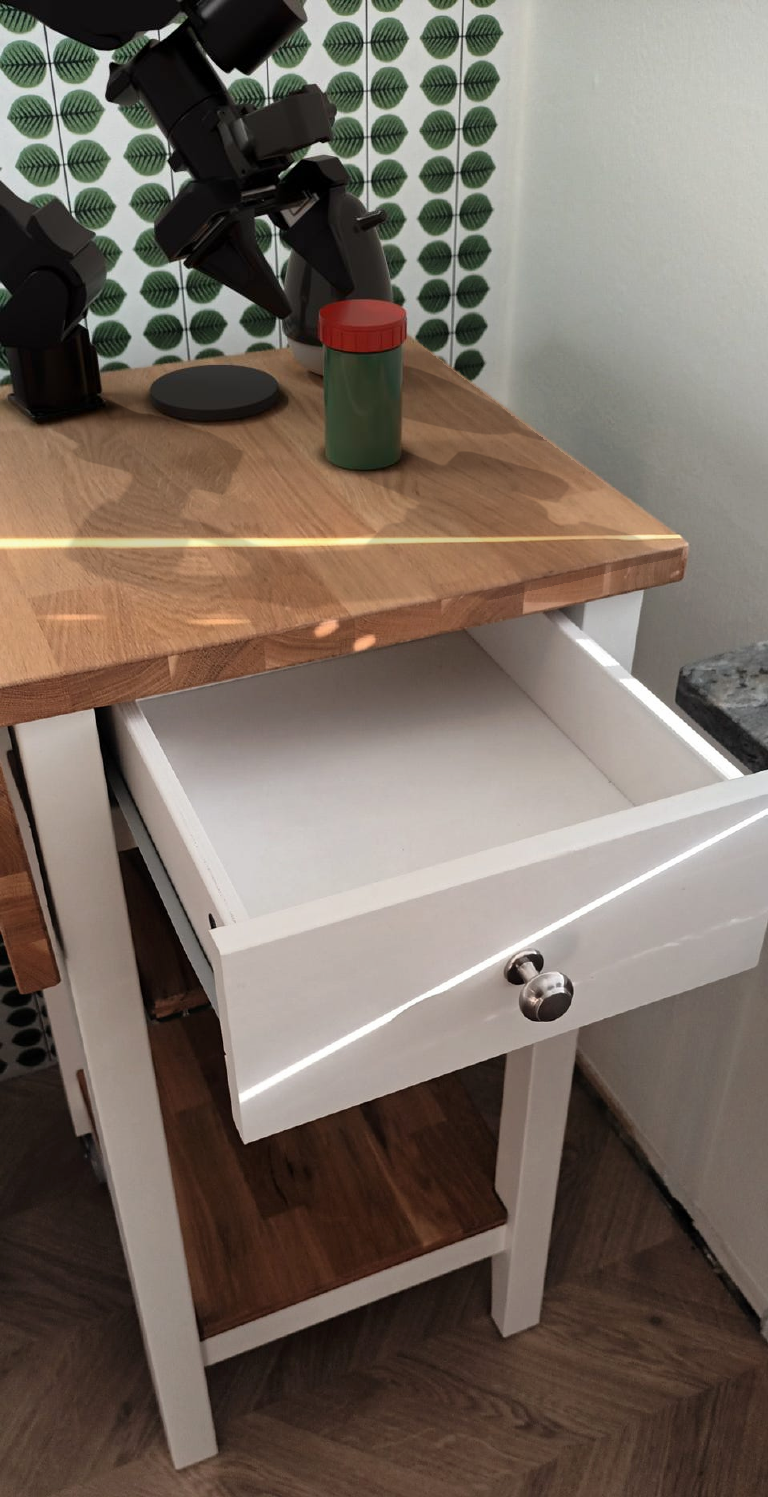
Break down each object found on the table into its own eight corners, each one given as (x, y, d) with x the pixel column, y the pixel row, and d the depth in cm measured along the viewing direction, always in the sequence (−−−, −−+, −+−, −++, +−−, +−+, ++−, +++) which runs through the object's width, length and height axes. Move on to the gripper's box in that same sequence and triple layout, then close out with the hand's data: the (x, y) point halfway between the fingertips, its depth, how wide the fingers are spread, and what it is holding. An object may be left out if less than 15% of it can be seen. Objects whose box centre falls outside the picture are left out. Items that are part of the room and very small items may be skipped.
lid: (350, 358, 89) (350, 332, 88) (302, 334, 93) (301, 308, 92) (424, 341, 92) (424, 316, 91) (373, 319, 96) (373, 294, 95)
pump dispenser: (350, 396, 108) (347, 211, 99) (260, 371, 113) (250, 192, 104) (418, 365, 115) (422, 188, 106) (331, 342, 120) (327, 171, 111)
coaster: (188, 431, 102) (187, 419, 101) (129, 391, 109) (128, 380, 109) (302, 403, 107) (302, 392, 106) (239, 367, 114) (238, 356, 114)
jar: (353, 476, 95) (351, 337, 89) (310, 450, 99) (306, 315, 93) (416, 458, 98) (419, 322, 91) (373, 434, 102) (373, 302, 95)
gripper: (186, 46, 79) (325, 259, 81) (336, 36, 93) (451, 219, 95) (95, 161, 86) (224, 354, 89) (246, 136, 100) (355, 304, 103)
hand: (320, 304), depth 94 cm, fingers open, 9 cm apart
